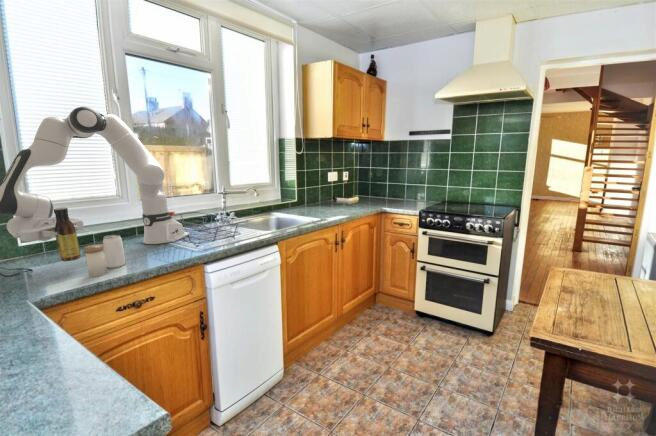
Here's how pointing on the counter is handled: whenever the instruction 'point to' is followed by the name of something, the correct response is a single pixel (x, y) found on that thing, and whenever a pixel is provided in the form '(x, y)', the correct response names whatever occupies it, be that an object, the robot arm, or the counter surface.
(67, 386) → the counter surface
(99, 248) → the spice jar
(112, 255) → the can
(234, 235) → the counter surface
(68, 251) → the sauce bottle
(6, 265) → the counter surface
